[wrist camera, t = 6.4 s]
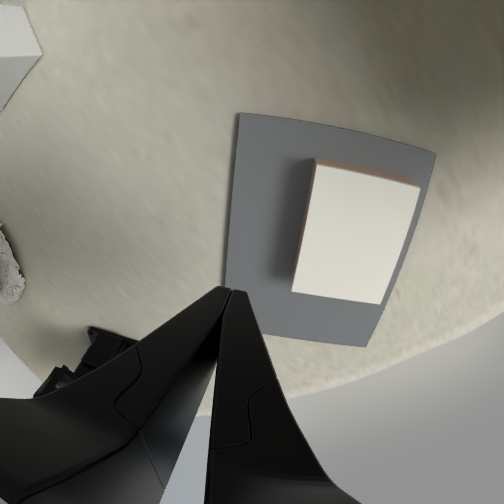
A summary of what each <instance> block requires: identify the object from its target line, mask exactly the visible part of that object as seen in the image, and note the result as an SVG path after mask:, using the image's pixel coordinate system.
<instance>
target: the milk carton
mask: <svg viewBox="0 0 504 504" xmlns="http://www.w3.org/2000/svg"><path fill="white" fill-rule="evenodd" d="M41 56H42V52H41V49H40V47H39V45H38V43H37V40H36V38H35V36H34V33H33V31H32V28H31V26H30V24H29V21H28V19H27V16H26V14H25V11H24V9H23V7H22V6H13V5H0V111H1V110H2V109H3V108H4V106H5V105H6V103H7V102H8V100H9V99H10V97H11V96H12V94H13V93H14V91H15V90H16V88H17V87H18V86H19V84H20V83H21V81H22V80H23V79H24V77H25V76H26V75H27V73H28V72H29V71H30V69H31V68H32V67H33V66H34V64H35V63H36V62H37V60H38V59H39V58H40V57H41Z"/></svg>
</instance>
